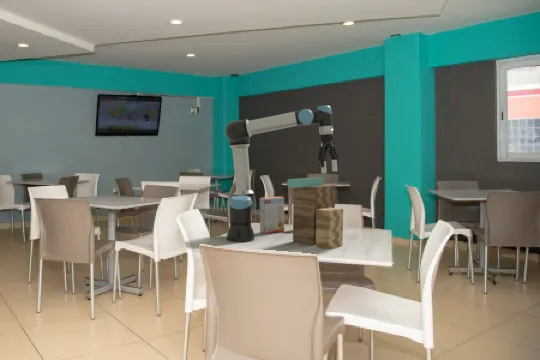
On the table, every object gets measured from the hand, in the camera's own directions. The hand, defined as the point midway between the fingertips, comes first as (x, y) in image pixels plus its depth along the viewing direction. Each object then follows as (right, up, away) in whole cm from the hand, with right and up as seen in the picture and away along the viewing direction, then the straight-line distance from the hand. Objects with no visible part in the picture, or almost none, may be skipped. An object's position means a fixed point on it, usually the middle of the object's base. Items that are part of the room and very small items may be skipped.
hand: (329, 172), depth 269 cm
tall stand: (-10, -37, -8) cm, 39 cm away
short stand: (-3, -38, -22) cm, 44 cm away
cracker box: (-32, -36, +18) cm, 51 cm away
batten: (-14, -8, -15) cm, 22 cm away
